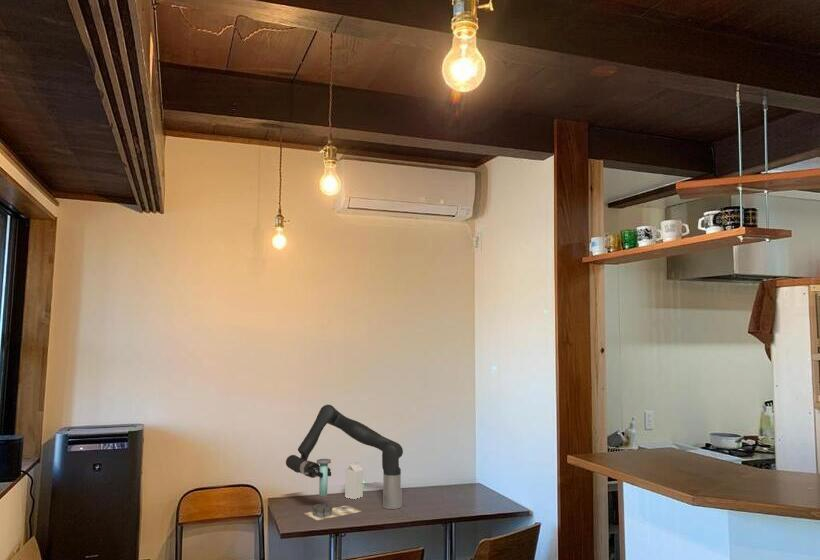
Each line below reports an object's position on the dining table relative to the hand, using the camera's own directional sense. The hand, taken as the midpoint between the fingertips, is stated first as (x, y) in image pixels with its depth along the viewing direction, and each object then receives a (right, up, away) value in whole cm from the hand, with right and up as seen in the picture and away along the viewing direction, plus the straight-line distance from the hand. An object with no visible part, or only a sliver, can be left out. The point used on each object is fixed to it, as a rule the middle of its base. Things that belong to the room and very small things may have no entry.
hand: (326, 474), depth 302 cm
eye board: (+3, -22, +4) cm, 22 cm away
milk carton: (+10, -25, +38) cm, 47 cm away
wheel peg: (-2, -11, +1) cm, 11 cm away
